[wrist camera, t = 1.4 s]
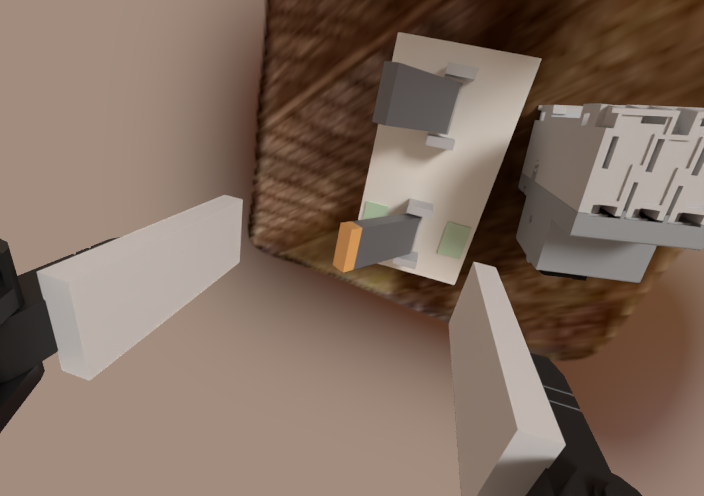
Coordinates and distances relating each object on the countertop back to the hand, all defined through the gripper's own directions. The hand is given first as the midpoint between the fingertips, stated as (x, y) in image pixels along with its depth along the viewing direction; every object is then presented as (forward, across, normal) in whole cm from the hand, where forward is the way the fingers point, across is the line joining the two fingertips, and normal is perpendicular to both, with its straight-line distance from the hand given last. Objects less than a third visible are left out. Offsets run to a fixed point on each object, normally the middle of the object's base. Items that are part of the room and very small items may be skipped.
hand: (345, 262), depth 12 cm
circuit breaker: (+28, +16, +2) cm, 32 cm away
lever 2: (+21, +3, -6) cm, 22 cm away
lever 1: (+21, +3, +6) cm, 22 cm away
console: (+27, +3, 0) cm, 28 cm away
